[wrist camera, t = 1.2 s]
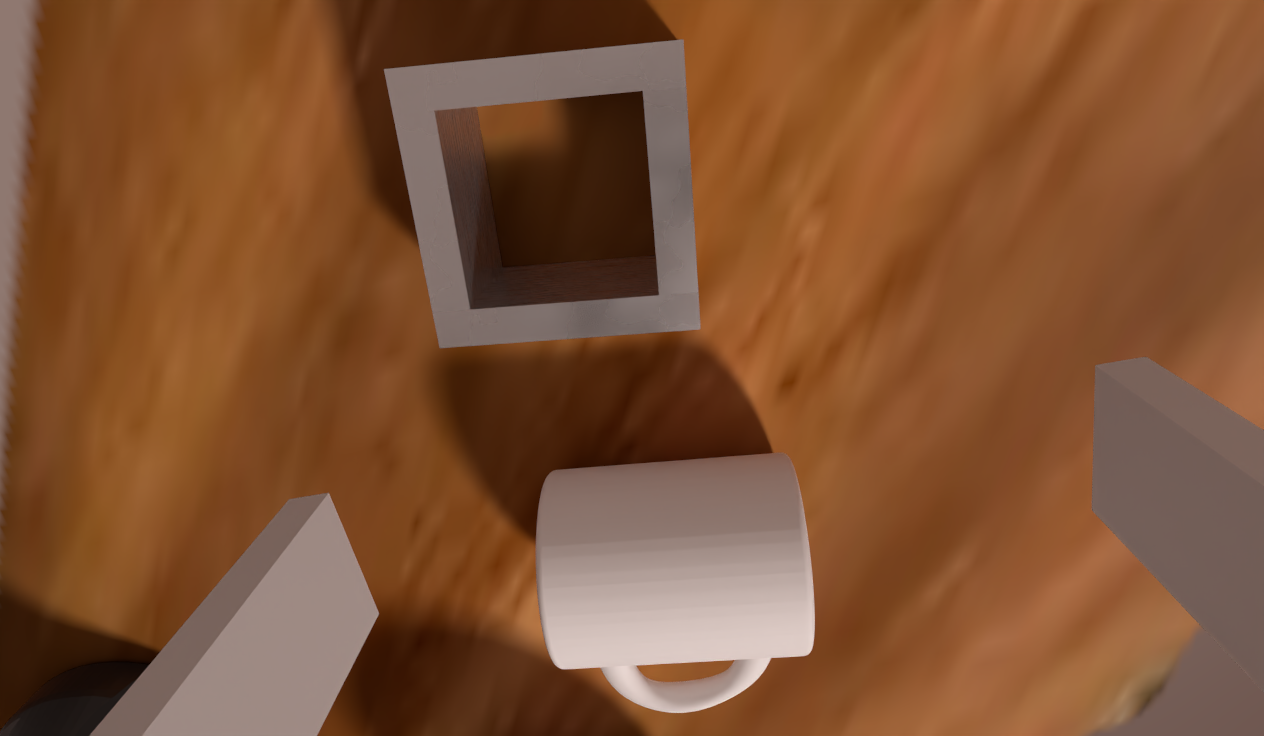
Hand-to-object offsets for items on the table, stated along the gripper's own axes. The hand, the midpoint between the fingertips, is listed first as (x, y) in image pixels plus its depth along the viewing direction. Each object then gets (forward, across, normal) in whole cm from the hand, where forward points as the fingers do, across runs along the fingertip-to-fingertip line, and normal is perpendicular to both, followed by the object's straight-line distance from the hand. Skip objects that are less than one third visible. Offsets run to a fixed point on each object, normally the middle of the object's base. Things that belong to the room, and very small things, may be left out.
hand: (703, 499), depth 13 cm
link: (+18, -4, +4) cm, 19 cm away
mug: (+19, -3, -14) cm, 23 cm away
